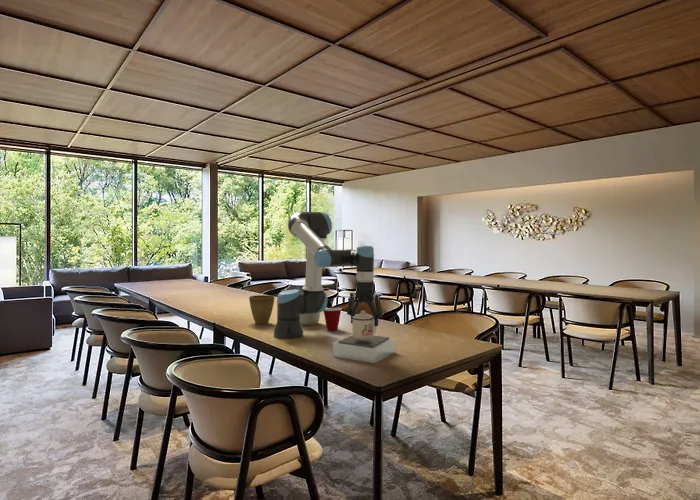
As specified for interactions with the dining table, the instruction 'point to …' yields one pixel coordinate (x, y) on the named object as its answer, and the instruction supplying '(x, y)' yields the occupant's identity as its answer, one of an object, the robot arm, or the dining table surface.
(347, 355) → the white flat block
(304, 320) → the canister
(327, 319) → the plastic cup
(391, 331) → the dining table surface
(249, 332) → the dining table surface
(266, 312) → the plant pot
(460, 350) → the dining table surface
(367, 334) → the teacup with lid
